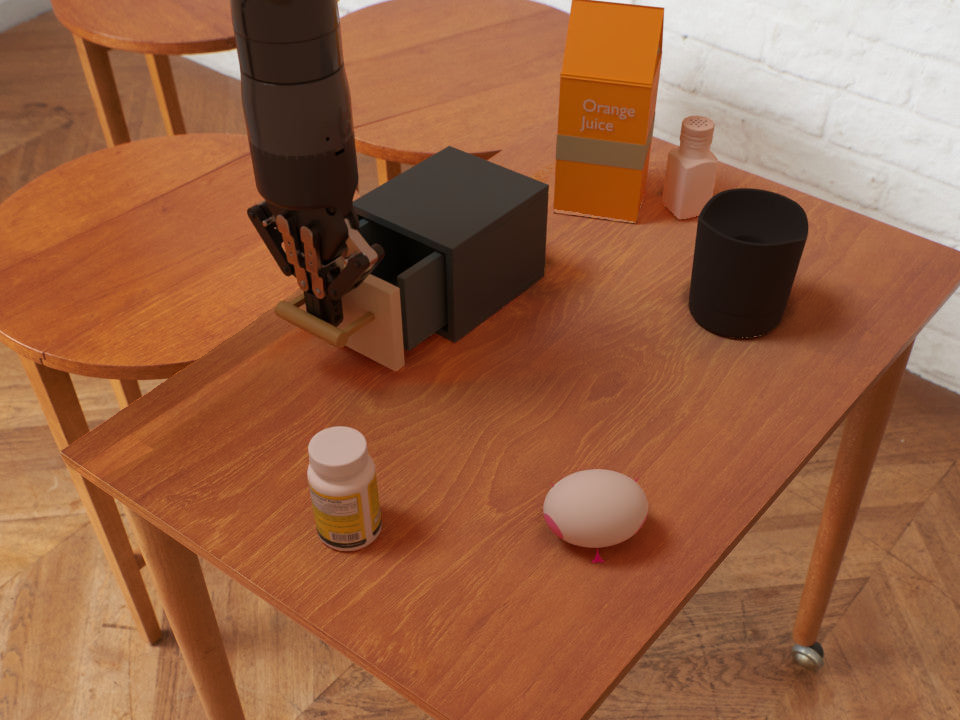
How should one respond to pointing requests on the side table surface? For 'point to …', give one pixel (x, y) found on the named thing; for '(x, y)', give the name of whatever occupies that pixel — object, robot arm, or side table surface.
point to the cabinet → (468, 229)
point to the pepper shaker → (691, 169)
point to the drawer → (385, 301)
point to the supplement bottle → (343, 489)
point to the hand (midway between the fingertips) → (326, 326)
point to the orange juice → (607, 107)
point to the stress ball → (595, 508)
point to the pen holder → (745, 261)
